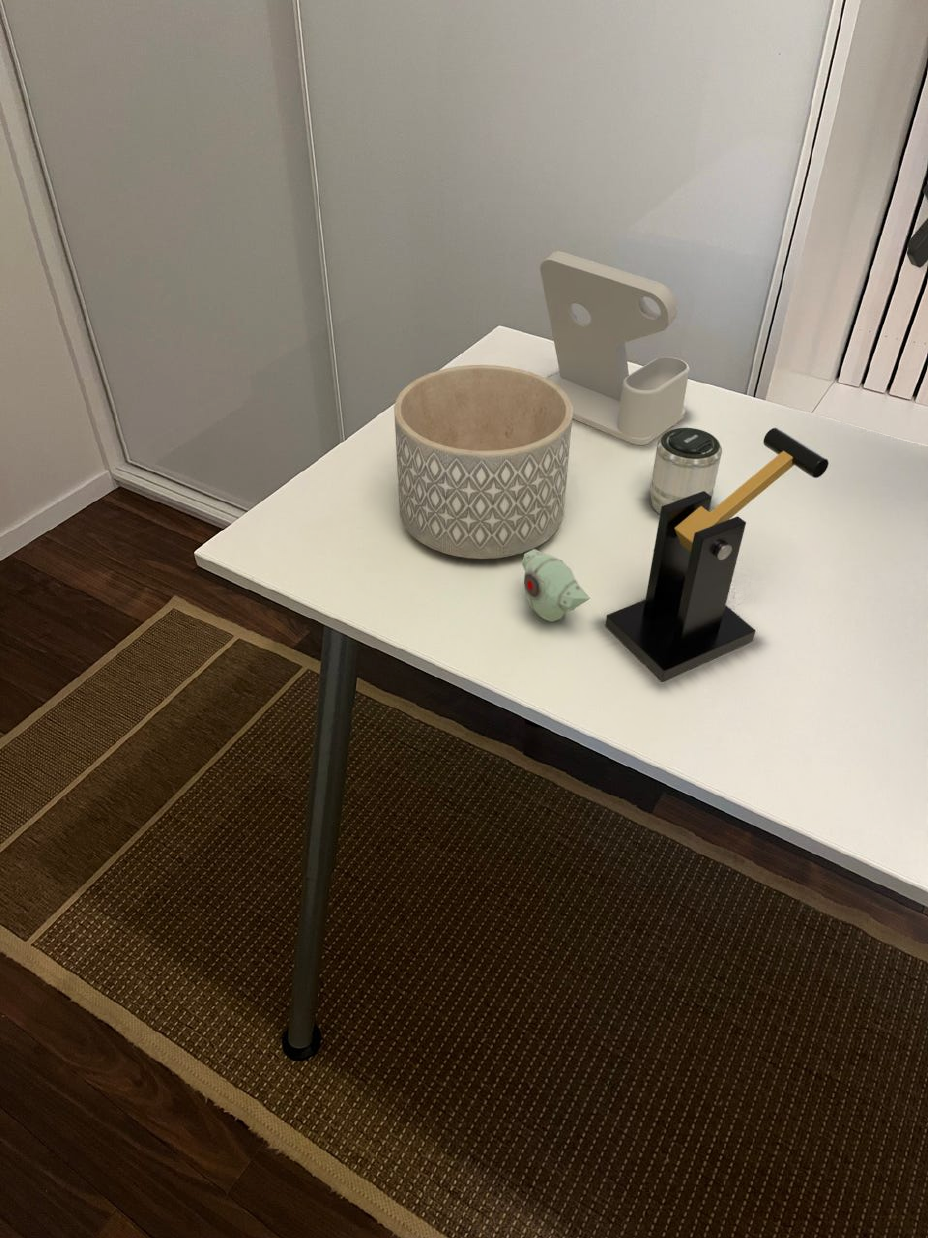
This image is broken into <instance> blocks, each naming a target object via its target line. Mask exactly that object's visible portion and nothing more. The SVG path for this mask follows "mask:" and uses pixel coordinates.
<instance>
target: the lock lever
mask: <svg viewBox="0 0 928 1238" xmlns="http://www.w3.org/2000/svg"><path fill="white" fill-rule="evenodd" d="M763 445H764V446H765V447H766V448H768V449H769V450H771V451H772V452H774V453H775V454H777V455H776V456H775V457H774V458H773V459H771V460H770V461H769V462H768V463H767V464H765V466H763V467H762V468H761V469H760V470H759V471H757V472H756V473H755V474H753V475H752V476H751V477H750V478H749V479H747V480H746V482H744V483H743V484H742V485H740V486H739V487H738V488H737V489H736V490H734V491H733V492H732V493H731V494H730V495H728V496H727V497H726V498H725V499H724V500H722V501H721V502H720V503H719V504H718V505H716V507H714V508H713V509H712V510H711V511H709V512H708V511H707V510H706V509H704V508H703V507H702V506H700V507H699V508H698V509H697V510H695V511H694V512H693V513H692V514H691V515H689V516H688V517H687V518H686V519H685V520H683V521H682V522H681V523H680V524H679V525H677V526H676V527H675V531H676V533H677V536H678V538H679V541H680V543H681V545H682V546H683V547H684V548H686V549H687V550H688V551H689V552H691V548H692V543H693V539H694V534H695V532H698V531H700V530H703V529H706V528H708V527H711V526H714V525H716V524H719V523H721V522H724V521H727V520H729V519H732V518H734V517H735V515H736V514H738V513H739V512H740V511H742V510H743V509H744V508H745V507H746V506H747V505H748V504H750V503H751V502H752V501H753V500H754V499H756V498H757V497H758V496H759V495H760V494H761V493H763V492H764V491H765V490H766V489H767V488H769V487H770V486H771V485H772V484H774V483H775V482H776V481H777V480H778V479H779V478H781V477H782V476H783V475H784V474H785V473H786V472H788V471H789V470H790V469H791V468H793V467H794V466H795V467H797V468H799V469H800V470H801V471H803V472H804V473H806V474H807V475H809V476H810V477H812V478H814V479H818V478H820V477H822V475H824V474H825V472H826V471H827V469H828V467H829V464H830V463H829V460H828V459H827V458H826V457H824V456H823V455H821V454H820V453H818V452H816V451H815V450H813V449H812V448H810V447H808V446H807V445H805V444H803V443H802V442H801V441H799V440H797V439H796V438H794V437H792V435H789V434H787V433H786V432H785V431H783V430H781V429H780V428H778V427H773V428H771V429H769V430H768V431H767V432H766V433H765V435H764V438H763Z"/></svg>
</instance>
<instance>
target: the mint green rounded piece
mask: <svg viewBox="0 0 928 1238" xmlns="http://www.w3.org/2000/svg"><path fill="white" fill-rule="evenodd" d="M521 565H522V568H523V570H524V576H523V577H524V578H523V586H524V592H525V596H526V599H527V601H528V603H529V606H530V607H531V609H533V611H534V612H535V613H536V614H537V615H538V616H539V617H540V618H542V619H543V620H545V621H548V622H555V621H558V620H560V619H562V618H563V617H564V616H565V614H566V613H567V612H570V611H574V610H575V609H576V608H578V607H579V606H581V605H583V604H584V603H586V602H588V601H589V600H590V599H591V596H589V595H588V594H587V592H585V590H584V589H583V588H582V587H581V585H580V584H579V582H578V581H577V579H576V577H575V575H574V574H573V571H572V569H571V568H570V567H569V566H568V565H567V563H565V561H563V560H562V559H560V558H558V557H555V556H553V555H551V554H547V553H543V552H542V551H540V550H537V549H536V548H533V549H531V550H529V551H526V552H524V554H523V559H522V562H521Z"/></svg>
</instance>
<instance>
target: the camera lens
mask: <svg viewBox="0 0 928 1238" xmlns="http://www.w3.org/2000/svg"><path fill="white" fill-rule="evenodd" d="M656 443H657V444H656V451H655V457H654V464H653V470H652V478H651V482H650V483H651V484H650V498H651V506H652V508H653V509H654V511H655V512H657V513H658V514H659V515H660V512H661V507H662V506H664V505H666V504H669V503H672V502H675V501H677V500H680V499H683V498H686V497H688V496H691V495H694V494H697V493H699V492H702V491H705V492H706V493H708V494H709V495H710V496H712V497H713V496H714V490H715V486H716V481H717V477H718V473H719V469H720V468H719V467H720V462H721V458H722V453H723V448H722V445H721V443H720V441H719V439H717V438H716V437H715V436H714V435H712V434H711V433H710V432H707V431H705V430H702V429H699V428H693V427H678V428H673V429H670V430H667V431H665V432H664V433H663V435H661V436H660V438H659V439H658V440H657V442H656Z"/></svg>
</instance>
